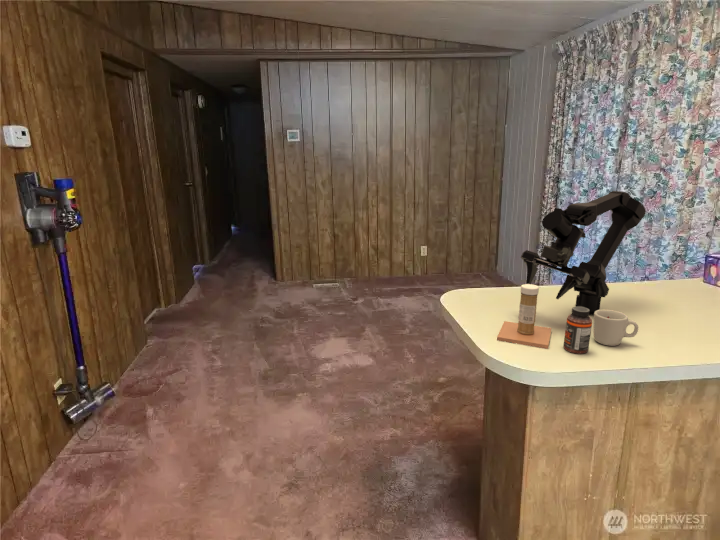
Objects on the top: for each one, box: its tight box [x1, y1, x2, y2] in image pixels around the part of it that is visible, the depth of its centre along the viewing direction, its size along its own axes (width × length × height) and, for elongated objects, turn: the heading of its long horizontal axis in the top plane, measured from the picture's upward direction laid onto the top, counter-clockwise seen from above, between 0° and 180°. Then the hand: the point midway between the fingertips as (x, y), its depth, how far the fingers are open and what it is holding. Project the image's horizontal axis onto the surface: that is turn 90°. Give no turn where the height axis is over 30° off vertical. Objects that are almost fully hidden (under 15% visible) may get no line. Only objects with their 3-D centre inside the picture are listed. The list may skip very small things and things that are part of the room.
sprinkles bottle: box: [517, 283, 540, 335], centre depth 130 cm, size 5×5×13 cm
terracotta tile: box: [496, 320, 552, 350], centre depth 132 cm, size 13×13×1 cm
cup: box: [593, 309, 639, 347], centre depth 127 cm, size 11×8×8 cm
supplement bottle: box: [563, 306, 593, 355], centre depth 122 cm, size 6×6×11 cm
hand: (541, 293), depth 137 cm, fingers open, 9 cm apart
